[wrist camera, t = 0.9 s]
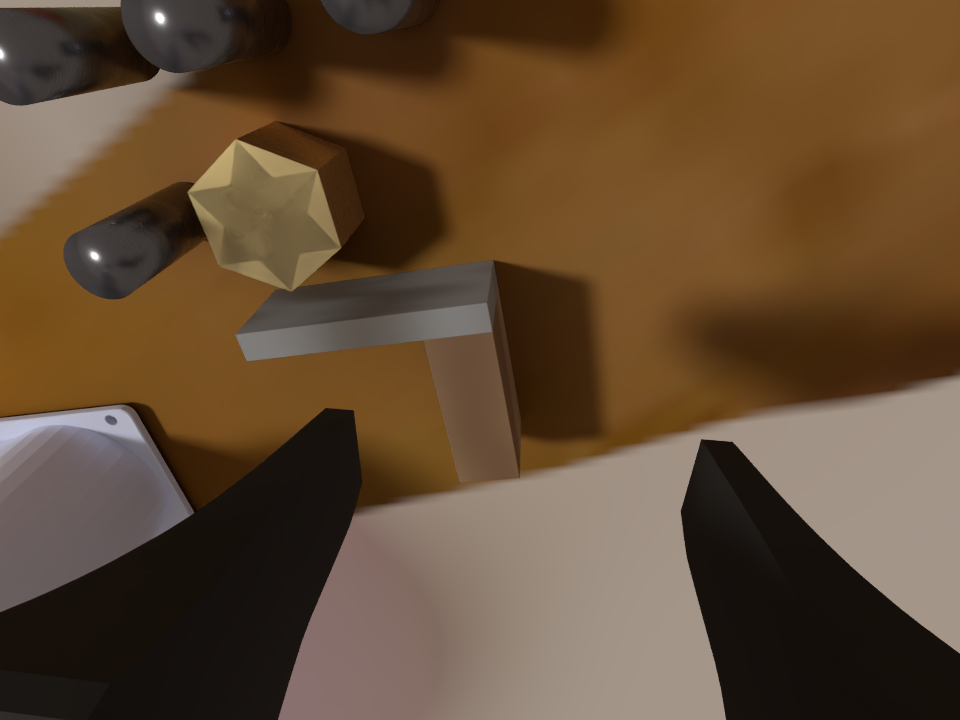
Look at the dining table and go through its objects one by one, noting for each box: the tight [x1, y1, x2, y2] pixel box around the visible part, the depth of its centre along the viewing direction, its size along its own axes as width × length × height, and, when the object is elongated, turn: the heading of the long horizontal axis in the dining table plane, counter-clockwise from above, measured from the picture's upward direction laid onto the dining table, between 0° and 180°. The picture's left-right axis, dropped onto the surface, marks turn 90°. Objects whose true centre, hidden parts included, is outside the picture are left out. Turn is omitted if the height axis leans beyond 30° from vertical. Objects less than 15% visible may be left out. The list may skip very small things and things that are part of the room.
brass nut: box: [188, 121, 365, 292], centre depth 19 cm, size 5×4×3 cm
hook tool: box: [236, 260, 521, 483], centre depth 21 cm, size 8×7×4 cm
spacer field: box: [0, 0, 440, 299], centre depth 16 cm, size 11×7×5 cm, turn 100°
